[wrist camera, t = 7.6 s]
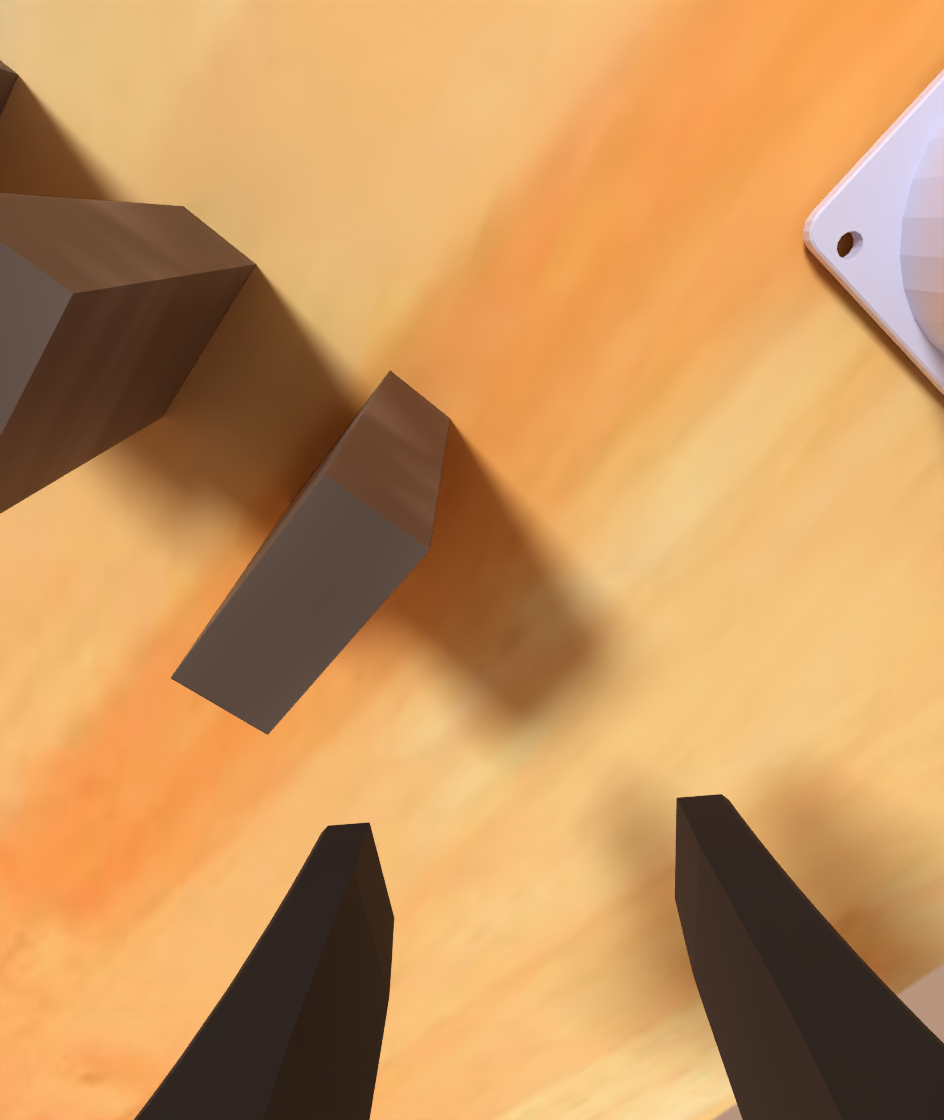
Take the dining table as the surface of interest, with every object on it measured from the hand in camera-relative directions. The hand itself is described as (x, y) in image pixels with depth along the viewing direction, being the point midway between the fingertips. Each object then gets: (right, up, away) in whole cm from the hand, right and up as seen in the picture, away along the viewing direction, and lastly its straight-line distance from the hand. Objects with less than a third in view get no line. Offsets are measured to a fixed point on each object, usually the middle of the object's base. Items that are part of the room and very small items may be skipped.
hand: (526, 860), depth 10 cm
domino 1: (-8, +10, +6) cm, 14 cm away
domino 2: (-3, +7, +7) cm, 10 cm away
